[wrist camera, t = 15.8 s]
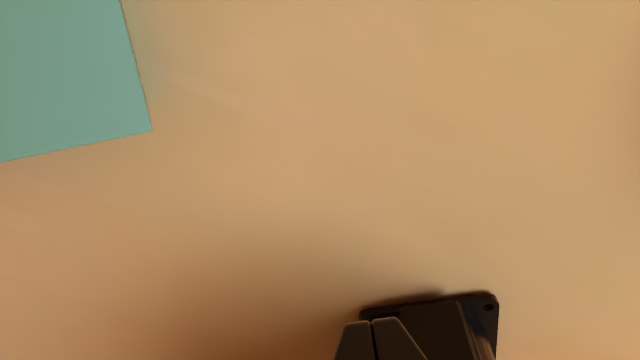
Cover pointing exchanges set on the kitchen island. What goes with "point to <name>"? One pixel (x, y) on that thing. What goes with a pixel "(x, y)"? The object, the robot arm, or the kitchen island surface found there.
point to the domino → (66, 76)
